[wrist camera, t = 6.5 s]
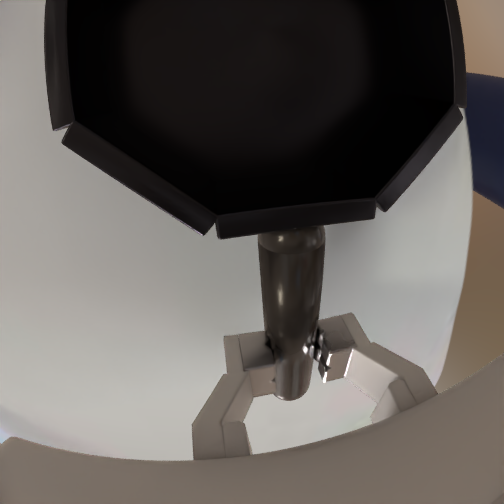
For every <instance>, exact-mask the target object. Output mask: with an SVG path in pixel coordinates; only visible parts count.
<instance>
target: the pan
mask: <svg viewBox="0 0 504 504" xmlns="http://www.w3.org/2000/svg"><path fill="white" fill-rule="evenodd" d="M44 53H45V72H46V84H47V94H48V102H49V110H50V117H51V123H52V129H53V131H57V130H61V129H64V128H67V127H68V129H67V131H66V133H65V135H64V137H63V139H62V142H61V143H62V144H63V145H65V146H66V147H68V148H69V149H71V150H72V151H73V152H75V153H76V154H78V155H79V156H81V157H82V158H84V159H85V160H87V161H88V162H90V163H91V164H93V165H94V166H96V167H97V168H99V169H101V170H102V171H104V172H105V173H107V174H108V175H110V176H111V177H113V178H114V179H116V180H117V181H119V182H120V183H122V184H123V185H125V186H126V187H128V188H129V189H131V190H132V191H134V192H135V193H137V194H139V195H140V196H142V197H143V198H145V199H146V200H148V201H149V202H151V203H152V204H154V205H155V206H157V207H158V208H160V209H162V210H163V211H165V212H166V213H168V214H169V215H171V216H172V217H174V218H175V219H177V220H179V221H180V222H182V223H183V224H185V225H186V226H188V227H189V228H191V229H193V230H194V231H196V232H197V233H199V234H200V235H203V236H204V235H205V234H206V233H207V232H208V231H209V230H210V228H211V227H212V226H213V225H214V223H215V225H216V231H217V237H218V238H219V239H228V238H235V237H242V236H249V235H256V234H258V249H259V262H260V275H261V288H262V302H263V315H264V329H265V333H266V334H267V336H268V339H269V348H270V349H271V350H272V354H273V358H274V362H275V370H276V377H275V382H276V393H273V394H274V395H275V396H276V397H277V398H279V399H281V400H285V401H291V400H296V399H298V398H300V397H302V396H303V395H304V394H305V393H306V392H307V390H308V388H309V385H310V379H311V373H312V366H313V359H314V352H315V345H316V337H317V329H318V320H319V311H320V302H321V291H322V280H323V268H324V254H325V229H324V225H330V224H338V223H346V222H354V221H362V220H370V219H374V218H375V211H376V207H378V208H379V209H380V210H381V211H383V212H386V211H387V210H388V209H389V208H390V207H391V206H392V205H393V204H394V203H395V202H396V200H397V199H398V198H399V197H400V196H401V195H402V194H403V193H404V191H405V190H406V189H407V188H408V187H409V186H410V184H411V183H412V182H413V181H414V180H415V179H416V177H417V176H418V175H419V174H420V173H421V171H422V170H423V169H424V168H425V167H426V165H427V164H428V163H429V162H430V161H431V159H432V158H433V157H434V156H435V154H436V153H437V152H438V151H439V149H440V148H441V147H442V146H443V144H444V143H445V142H446V141H447V139H448V138H449V137H450V135H451V134H452V133H453V132H454V130H455V129H456V128H457V126H458V125H459V124H460V122H461V121H462V120H463V116H462V114H461V112H460V110H459V108H458V107H460V108H466V107H467V84H466V65H465V52H464V43H463V35H462V28H461V22H460V16H459V11H458V6H457V1H456V0H46V5H45V23H44Z"/></svg>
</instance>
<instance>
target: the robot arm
mask: <svg viewBox="0 0 504 504" xmlns="http://www.w3.org/2000/svg"><path fill="white" fill-rule="evenodd" d="M238 335H239V337H238ZM238 335H230V336H224V348H225V357H226V366H227V374H223V376H222V377H221V379H220V380H219V382H218V384H217V385H216V387H215V389H214V390H213V392H212V393H211V395H210V397H209V398H208V400H207V401H206V403H205V405H204V406H203V408H202V409H201V411H200V413H199V414H198V416H197V417H196V419H195V420H194V422H193V423H192V440H193V458H194V460H188V461H154V460H134V459H121V458H112V457H103V456H96V455H89V454H83V453H78V452H72V451H67V450H63V449H58V448H54V447H50V446H46V445H42V444H38V443H34V442H31V441H28V440H25V439H22V438H18V437H10V438H8V439H7V440H5V441H4V442H3V443H2V444H1V445H0V504H504V353H503V354H501V355H500V356H499V357H497V358H496V359H494V360H493V361H492V362H490V363H489V364H487V365H486V366H485V367H483V368H481V369H480V370H478V371H477V372H475V373H474V374H472V375H471V376H469V377H468V378H466V379H464V380H463V381H461V382H459V383H458V384H456V385H454V386H452V387H451V388H449V389H447V390H445V391H443V392H442V393H440V394H438V393H437V391H436V390H435V388H434V386H433V385H432V383H431V381H430V380H429V378H428V376H427V375H426V373H425V371H424V370H423V368H421V367H419V366H417V365H415V364H413V363H412V362H410V361H408V360H406V359H404V358H402V357H400V356H399V355H397V354H395V353H393V352H391V351H389V350H388V349H386V348H384V347H382V346H380V345H378V344H377V343H375V342H372V343H370V341H369V339H368V338H367V336H366V334H365V333H364V331H363V329H362V328H361V326H360V324H359V322H358V321H357V319H356V317H355V316H354V314H353V313H347V314H343V315H339V316H334V317H329V318H325V319H321V320H318V329H317V337H316V345H315V352H314V359H315V360H316V361H318V362H319V366H318V370H319V372H320V375H321V377H322V380H323V382H327V381H331V380H335V379H339V378H343V377H345V379H346V380H347V381H349V382H350V383H351V384H353V385H354V386H355V387H356V388H358V389H359V390H360V391H362V392H363V393H364V394H366V395H367V396H368V397H370V398H371V399H372V400H374V401H375V402H376V403H378V404H377V406H376V407H375V409H374V411H373V412H372V414H371V416H370V418H371V420H372V423H373V424H371V425H368V426H365V427H363V428H360V429H357V430H354V431H351V432H348V433H345V434H342V435H338V436H335V437H332V438H328V439H325V440H321V441H317V442H314V443H310V444H306V445H301V446H297V447H292V448H288V449H283V450H278V451H272V452H267V453H261V454H254V455H253V454H252V449H251V445H250V441H249V438H248V434H247V431H246V427H245V424H244V423H243V421H244V419H245V417H246V414H247V412H248V410H249V408H250V405H251V403H252V401H253V397H258V396H263V395H268V394H273V393H276V382H275V377H276V370H275V362H274V358H273V354H272V350H271V349H270V348H269V339H268V336H267V334H266V333H265V331H259V332H252V333H244V334H238ZM239 342H240V343H239Z"/></svg>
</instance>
